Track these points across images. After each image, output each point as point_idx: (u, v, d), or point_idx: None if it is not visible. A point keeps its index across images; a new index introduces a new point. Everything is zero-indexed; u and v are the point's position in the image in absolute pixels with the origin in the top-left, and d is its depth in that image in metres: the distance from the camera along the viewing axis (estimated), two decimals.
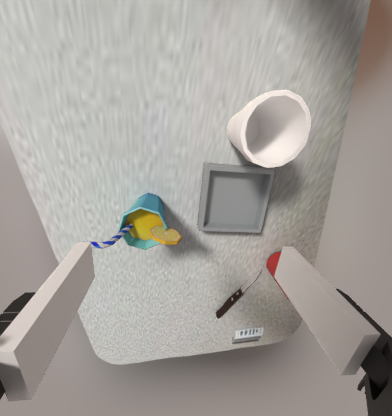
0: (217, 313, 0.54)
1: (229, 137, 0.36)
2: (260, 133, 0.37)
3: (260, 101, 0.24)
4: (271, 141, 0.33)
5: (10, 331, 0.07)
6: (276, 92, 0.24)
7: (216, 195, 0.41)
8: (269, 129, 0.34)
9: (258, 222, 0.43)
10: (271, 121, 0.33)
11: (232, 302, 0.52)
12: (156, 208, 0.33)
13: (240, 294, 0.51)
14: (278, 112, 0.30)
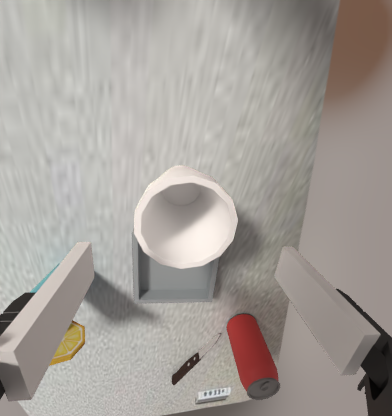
0: (173, 378, 0.47)
1: None
2: (201, 192, 0.29)
3: (155, 191, 0.16)
4: (206, 211, 0.25)
5: (10, 331, 0.07)
6: (178, 179, 0.16)
7: (154, 260, 0.34)
8: (206, 193, 0.26)
9: (208, 290, 0.35)
10: None
11: (188, 368, 0.45)
12: None
13: (197, 360, 0.44)
14: None
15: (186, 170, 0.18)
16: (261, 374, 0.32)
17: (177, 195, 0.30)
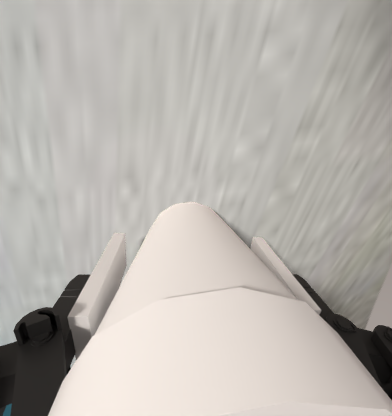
0: None
1: None
2: None
3: None
4: None
5: (80, 302, 0.08)
6: None
7: None
8: None
9: None
10: None
11: None
12: None
13: None
14: None
15: (224, 296, 0.05)
16: None
17: None
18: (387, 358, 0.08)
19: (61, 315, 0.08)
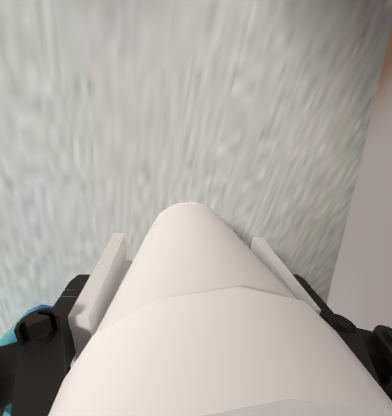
0: None
1: None
2: None
3: None
4: None
5: (80, 302, 0.08)
6: None
7: None
8: None
9: None
10: None
11: None
12: None
13: None
14: None
15: (224, 295, 0.05)
16: None
17: None
18: (387, 358, 0.08)
19: (61, 315, 0.08)
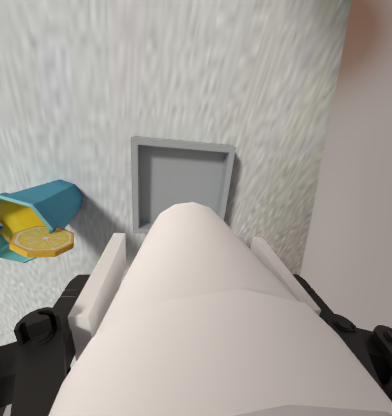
0: None
1: None
2: None
3: None
4: None
5: (80, 302, 0.08)
6: None
7: (157, 183, 0.29)
8: None
9: None
10: None
11: None
12: (41, 199, 0.21)
13: None
14: None
15: (224, 297, 0.05)
16: None
17: None
18: (387, 358, 0.08)
19: (61, 315, 0.08)
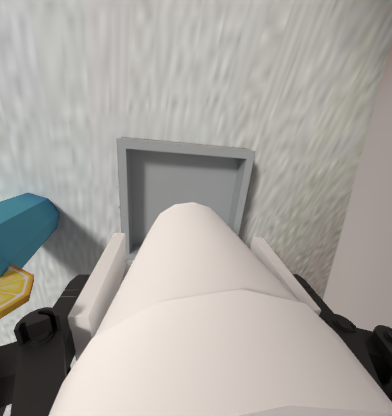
0: None
1: None
2: None
3: None
4: None
5: (80, 302, 0.08)
6: None
7: (153, 197, 0.23)
8: None
9: None
10: None
11: None
12: None
13: None
14: None
15: (224, 298, 0.05)
16: None
17: None
18: (387, 358, 0.08)
19: (61, 315, 0.08)
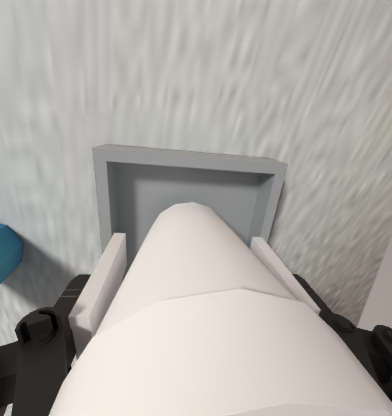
0: None
1: None
2: None
3: None
4: None
5: (81, 301, 0.08)
6: None
7: (147, 223, 0.18)
8: None
9: None
10: None
11: None
12: None
13: None
14: None
15: (224, 297, 0.05)
16: None
17: None
18: (386, 358, 0.08)
19: (62, 315, 0.08)
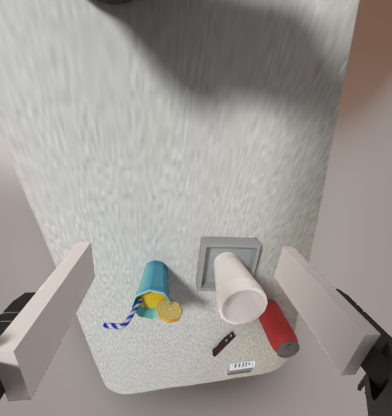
0: (213, 351, 0.61)
1: None
2: None
3: (231, 294, 0.36)
4: None
5: (10, 331, 0.07)
6: (241, 288, 0.35)
7: (212, 261, 0.48)
8: None
9: None
10: None
11: (226, 343, 0.59)
12: (162, 285, 0.40)
13: (233, 336, 0.59)
14: None
15: (242, 278, 0.37)
16: (287, 339, 0.47)
17: None
18: None
19: None
